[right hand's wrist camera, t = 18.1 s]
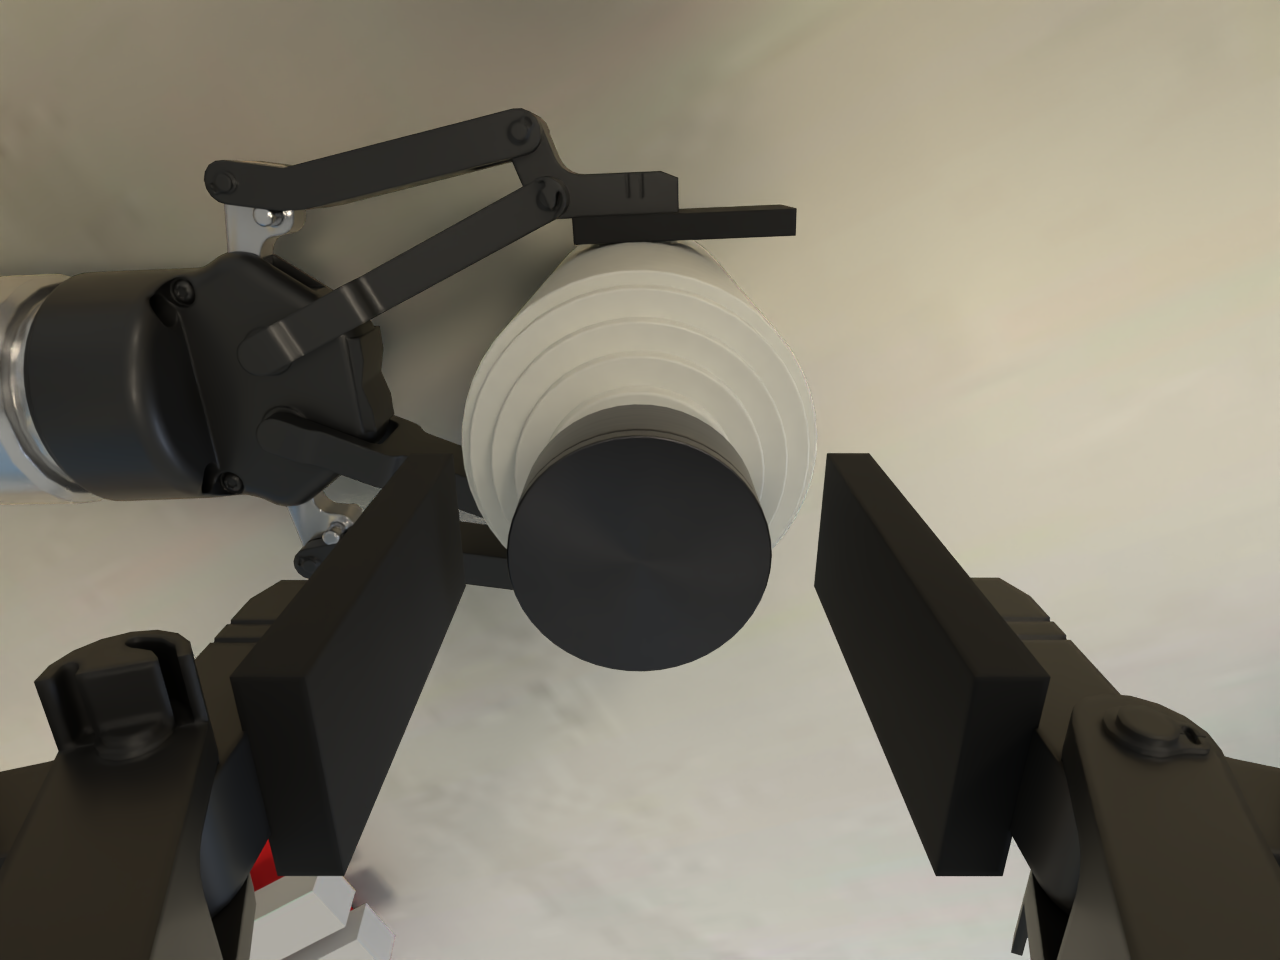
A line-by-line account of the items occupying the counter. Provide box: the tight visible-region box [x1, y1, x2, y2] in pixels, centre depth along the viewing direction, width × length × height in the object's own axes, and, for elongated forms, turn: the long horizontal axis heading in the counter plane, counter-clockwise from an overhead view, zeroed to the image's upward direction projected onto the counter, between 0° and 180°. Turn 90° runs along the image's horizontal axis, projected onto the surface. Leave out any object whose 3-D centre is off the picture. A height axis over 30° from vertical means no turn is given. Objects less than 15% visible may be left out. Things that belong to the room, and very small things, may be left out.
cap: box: [507, 404, 772, 671], centre depth 14 cm, size 4×4×2 cm
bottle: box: [462, 240, 817, 550], centre depth 22 cm, size 8×8×20 cm
